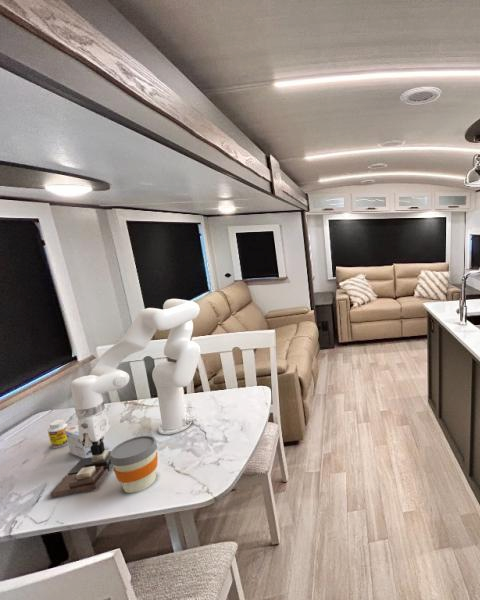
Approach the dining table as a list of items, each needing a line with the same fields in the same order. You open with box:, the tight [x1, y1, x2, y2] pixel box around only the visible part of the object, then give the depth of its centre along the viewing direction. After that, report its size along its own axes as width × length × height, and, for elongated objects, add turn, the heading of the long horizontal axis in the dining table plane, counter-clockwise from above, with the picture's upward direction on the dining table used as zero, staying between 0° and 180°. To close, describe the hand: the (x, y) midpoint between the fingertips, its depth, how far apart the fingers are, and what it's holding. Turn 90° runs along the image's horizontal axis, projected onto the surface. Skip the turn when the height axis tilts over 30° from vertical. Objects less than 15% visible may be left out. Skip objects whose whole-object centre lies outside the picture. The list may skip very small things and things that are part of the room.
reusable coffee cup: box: [110, 435, 158, 494], centre depth 111 cm, size 13×13×15 cm
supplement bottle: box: [47, 419, 69, 448], centre depth 131 cm, size 6×6×10 cm
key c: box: [91, 449, 109, 462], centre depth 119 cm, size 4×4×2 cm
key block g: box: [50, 466, 109, 499], centre depth 111 cm, size 12×8×4 cm, turn 109°
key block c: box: [67, 450, 114, 476], centre depth 119 cm, size 12×8×4 cm, turn 109°
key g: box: [76, 466, 96, 480], centre depth 111 cm, size 4×4×2 cm
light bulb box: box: [65, 424, 106, 459], centre depth 127 cm, size 11×7×11 cm, turn 71°
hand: (98, 452), depth 119 cm, fingers closed
